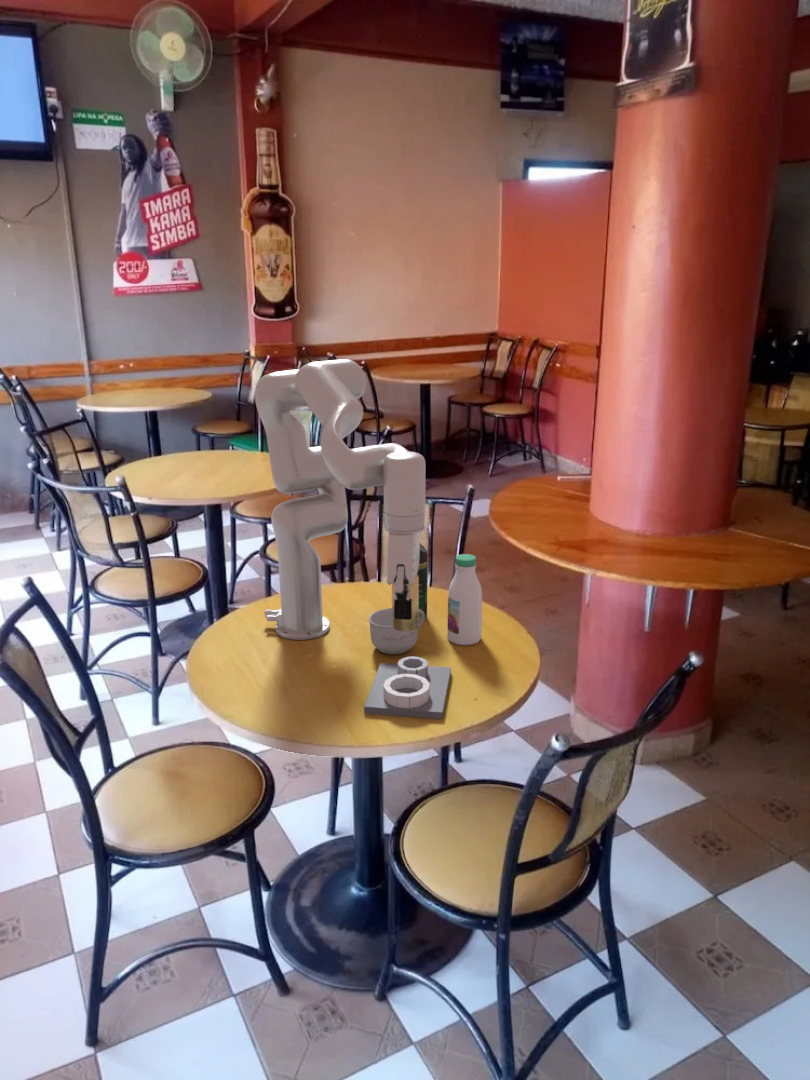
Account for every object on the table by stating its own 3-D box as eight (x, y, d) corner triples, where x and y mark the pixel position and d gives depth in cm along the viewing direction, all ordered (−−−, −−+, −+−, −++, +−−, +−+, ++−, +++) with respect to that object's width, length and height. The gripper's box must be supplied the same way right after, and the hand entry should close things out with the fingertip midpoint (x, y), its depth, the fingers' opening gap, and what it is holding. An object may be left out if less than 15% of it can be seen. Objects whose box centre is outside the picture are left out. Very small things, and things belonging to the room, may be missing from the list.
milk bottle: (481, 632, 191) (483, 551, 184) (480, 647, 184) (483, 563, 177) (448, 630, 192) (449, 550, 185) (446, 645, 184) (447, 562, 178)
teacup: (382, 663, 176) (382, 630, 174) (361, 643, 185) (360, 611, 183) (438, 650, 182) (439, 617, 180) (415, 631, 191) (415, 599, 189)
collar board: (364, 713, 157) (363, 695, 156) (380, 669, 174) (380, 652, 173) (442, 719, 155) (442, 700, 154) (450, 673, 172) (451, 656, 171)
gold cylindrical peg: (390, 630, 153) (389, 580, 150) (394, 619, 158) (393, 571, 155) (416, 632, 153) (416, 582, 149) (420, 621, 157) (420, 572, 154)
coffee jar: (430, 622, 196) (431, 549, 190) (398, 625, 194) (397, 551, 188) (421, 606, 205) (421, 536, 199) (390, 609, 203) (389, 538, 197)
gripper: (391, 506, 157) (392, 594, 163) (375, 534, 141) (377, 630, 147) (430, 507, 156) (430, 596, 162) (419, 536, 140) (419, 633, 146)
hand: (405, 611), depth 154 cm, fingers closed on gold cylindrical peg, 5 cm apart
